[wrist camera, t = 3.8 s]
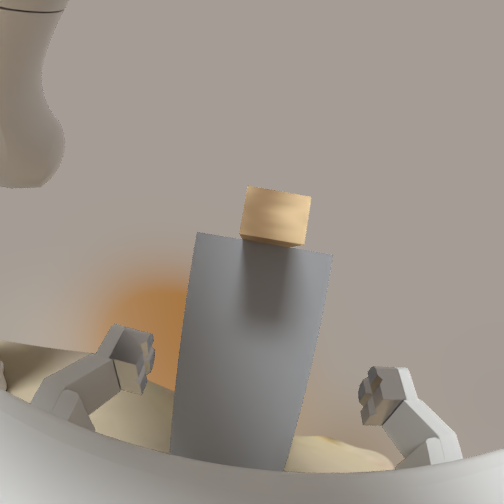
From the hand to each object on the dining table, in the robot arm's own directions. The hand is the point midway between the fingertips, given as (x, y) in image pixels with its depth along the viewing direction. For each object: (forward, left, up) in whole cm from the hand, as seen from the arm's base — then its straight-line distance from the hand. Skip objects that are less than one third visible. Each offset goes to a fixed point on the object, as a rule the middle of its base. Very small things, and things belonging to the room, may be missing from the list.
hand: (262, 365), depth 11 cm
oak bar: (0, +19, +5) cm, 20 cm away
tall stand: (0, +21, -21) cm, 30 cm away
